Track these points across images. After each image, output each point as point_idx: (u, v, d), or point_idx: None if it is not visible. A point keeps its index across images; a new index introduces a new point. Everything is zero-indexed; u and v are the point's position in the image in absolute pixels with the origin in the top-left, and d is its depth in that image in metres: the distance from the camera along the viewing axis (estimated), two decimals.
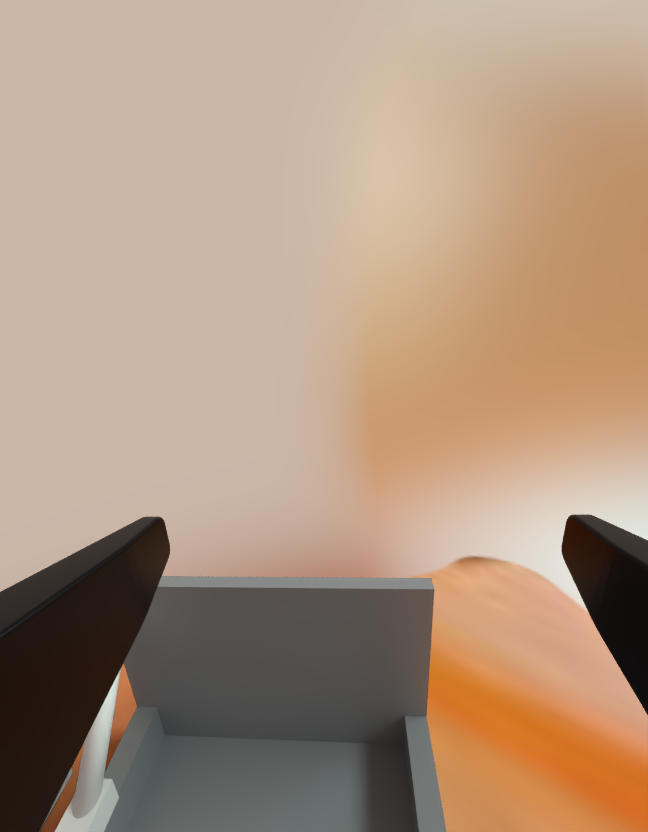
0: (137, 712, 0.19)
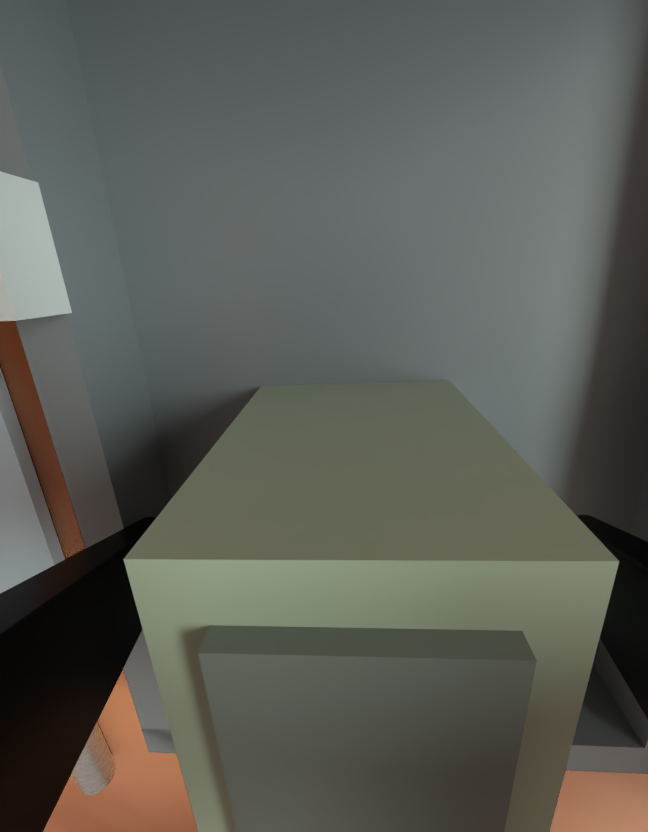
0: None
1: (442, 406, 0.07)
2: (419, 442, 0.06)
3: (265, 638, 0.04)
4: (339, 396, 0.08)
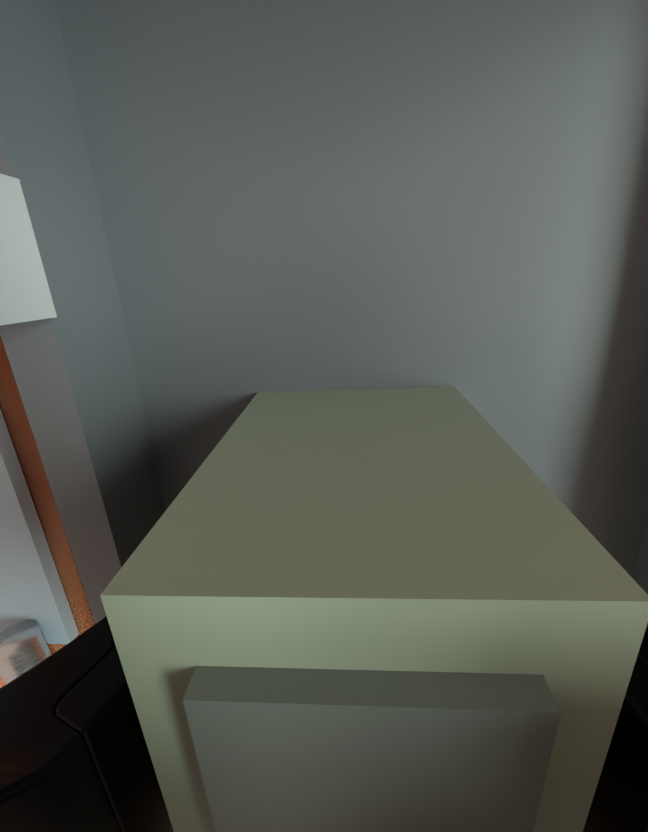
0: None
1: (448, 415, 0.07)
2: (425, 456, 0.05)
3: (257, 682, 0.03)
4: (338, 404, 0.08)
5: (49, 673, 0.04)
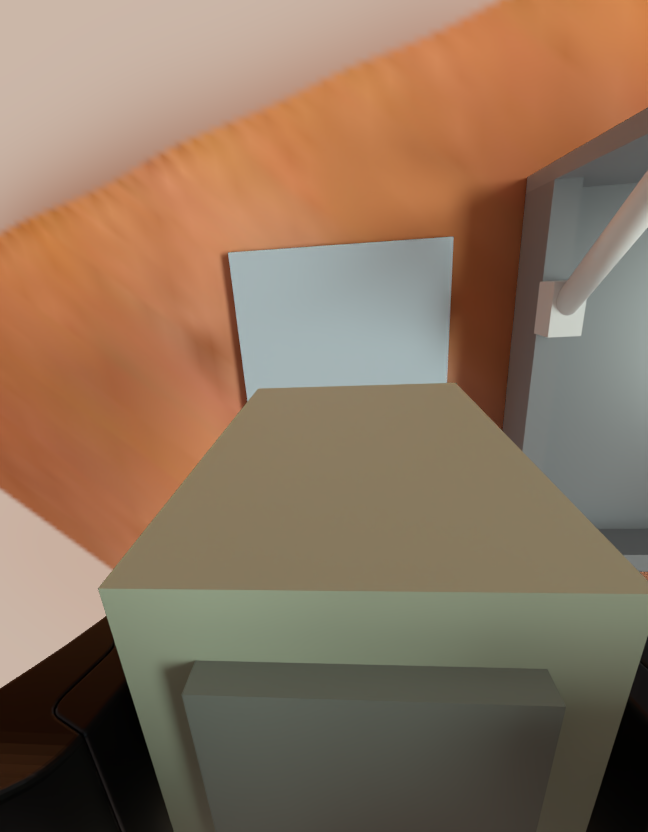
0: (557, 187, 0.14)
1: (449, 410, 0.07)
2: (427, 450, 0.05)
3: (258, 677, 0.03)
4: (339, 400, 0.08)
5: (49, 673, 0.04)
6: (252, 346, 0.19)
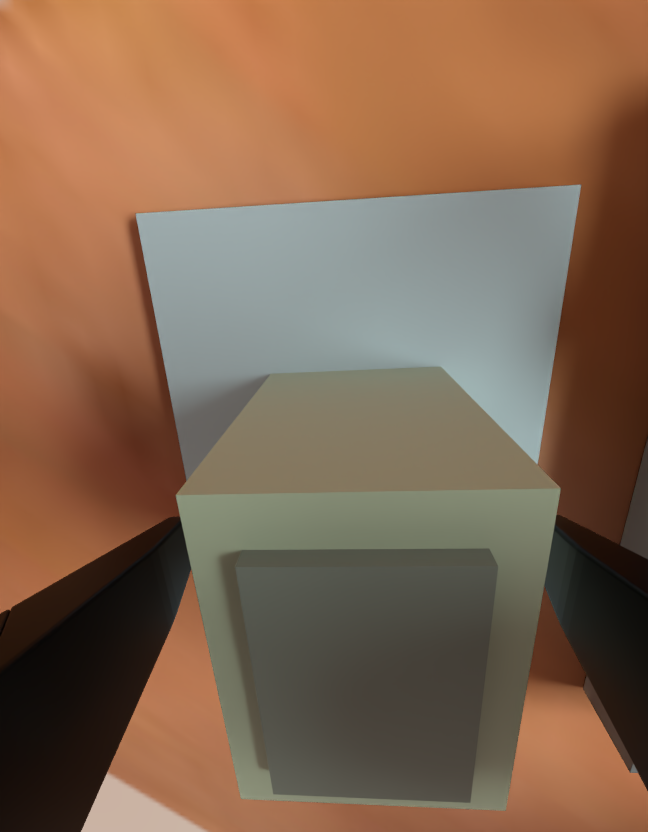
0: None
1: (433, 387, 0.08)
2: (411, 413, 0.07)
3: (287, 557, 0.05)
4: (341, 381, 0.09)
5: None
6: (190, 388, 0.11)
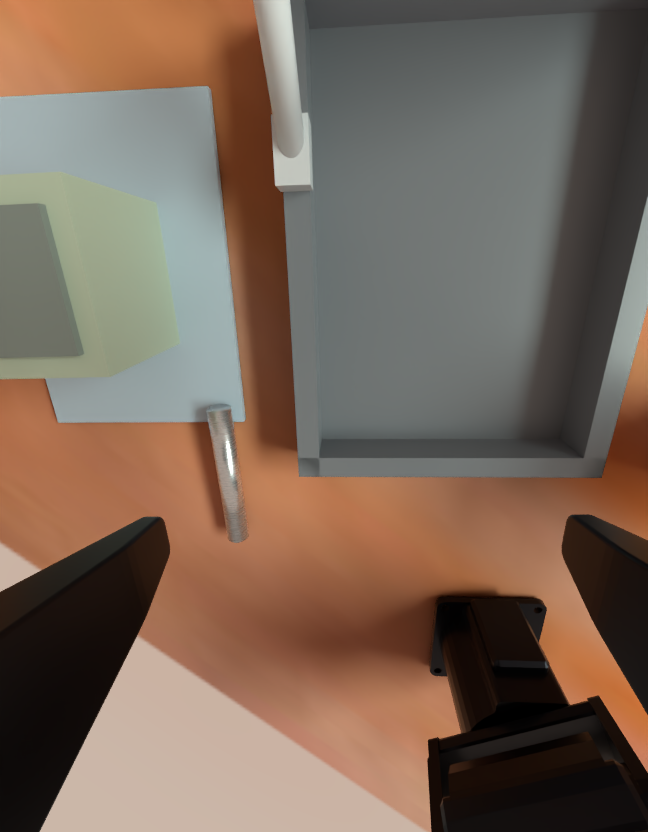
0: None
1: None
2: None
3: None
4: None
5: None
6: None
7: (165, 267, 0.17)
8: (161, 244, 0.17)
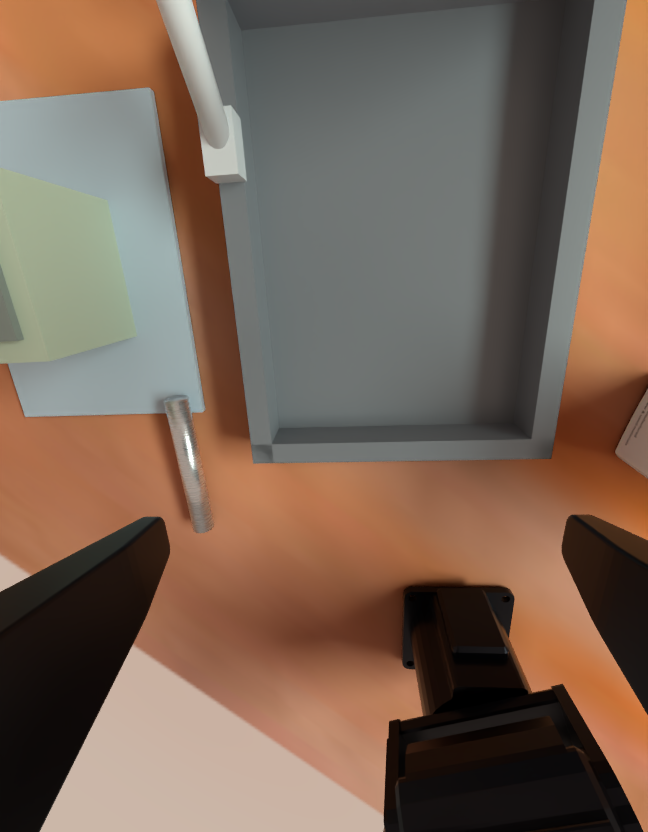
0: (200, 6, 0.13)
1: None
2: None
3: None
4: None
5: None
6: None
7: (118, 262, 0.18)
8: (114, 240, 0.18)
